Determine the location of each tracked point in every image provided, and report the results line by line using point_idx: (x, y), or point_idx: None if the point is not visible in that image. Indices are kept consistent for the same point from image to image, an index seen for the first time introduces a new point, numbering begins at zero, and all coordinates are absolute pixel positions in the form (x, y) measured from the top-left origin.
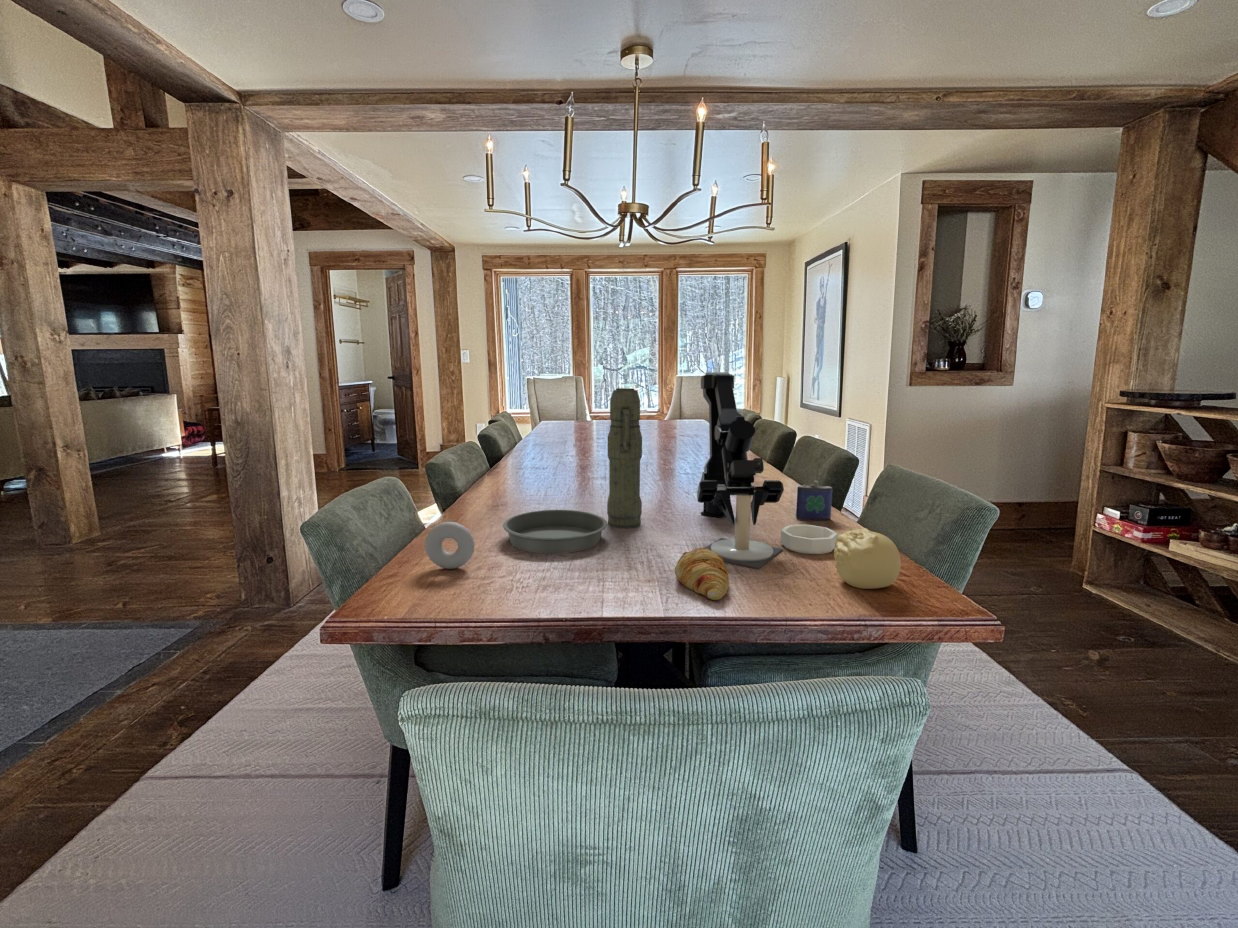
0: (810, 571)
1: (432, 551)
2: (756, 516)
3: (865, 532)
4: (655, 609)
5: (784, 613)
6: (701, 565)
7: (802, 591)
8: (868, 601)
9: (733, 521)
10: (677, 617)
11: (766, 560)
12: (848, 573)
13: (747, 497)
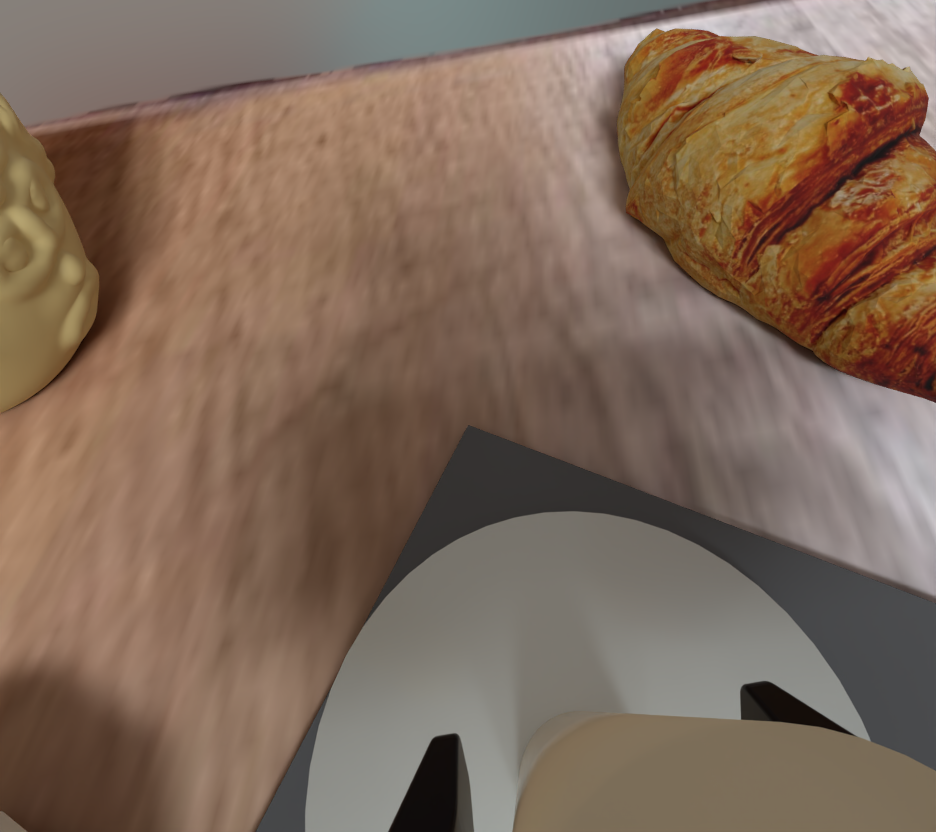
0: (184, 452)
1: None
2: (407, 813)
3: None
4: (838, 21)
5: (423, 78)
6: (774, 47)
7: (314, 224)
8: (109, 195)
9: (767, 691)
10: (748, 2)
11: (402, 564)
12: (71, 219)
13: (643, 753)
